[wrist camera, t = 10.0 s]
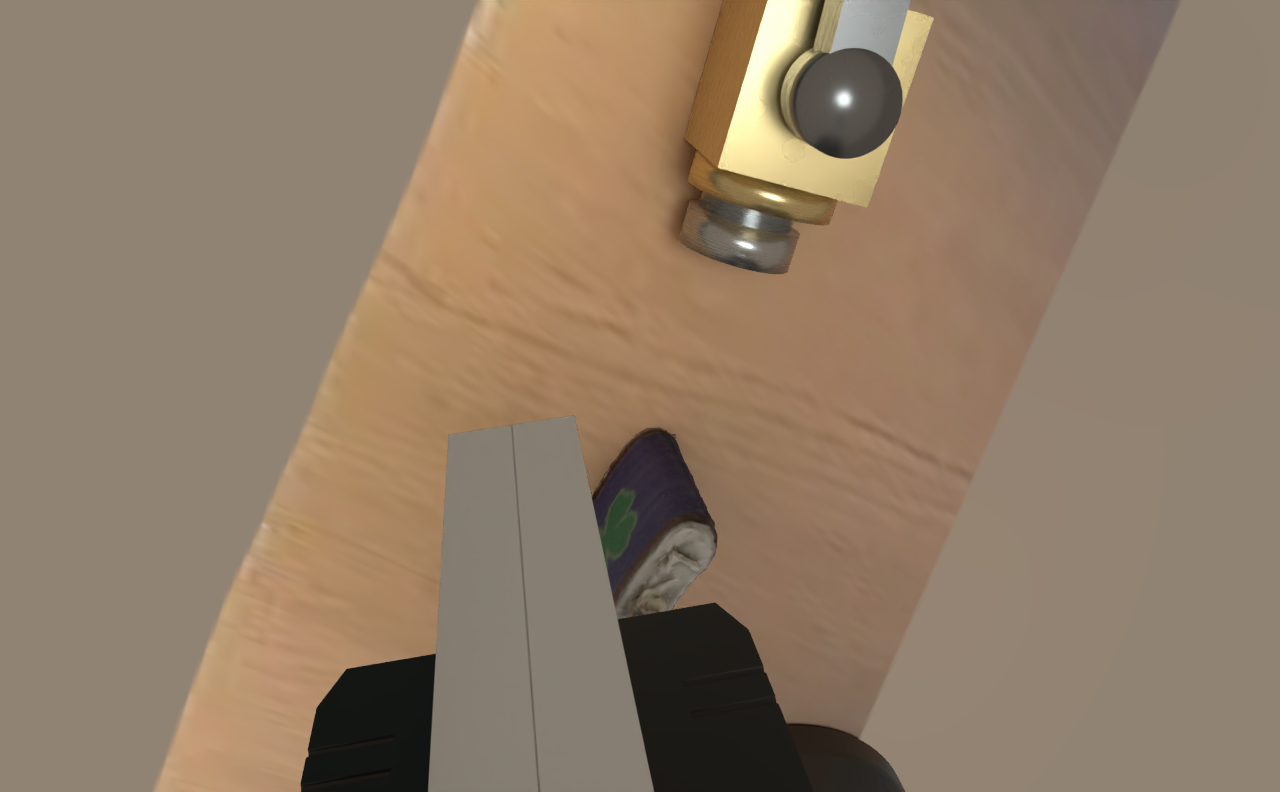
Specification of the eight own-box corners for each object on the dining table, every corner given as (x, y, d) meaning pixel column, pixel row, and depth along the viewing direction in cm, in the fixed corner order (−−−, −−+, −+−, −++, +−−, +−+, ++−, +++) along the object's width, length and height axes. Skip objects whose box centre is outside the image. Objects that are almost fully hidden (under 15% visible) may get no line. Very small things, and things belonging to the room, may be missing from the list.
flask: (603, 595, 54) (631, 736, 44) (549, 575, 53) (566, 715, 43) (690, 438, 52) (740, 551, 42) (635, 414, 51) (673, 524, 41)
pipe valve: (784, 256, 49) (836, 307, 42) (657, 224, 48) (689, 272, 41) (898, -91, 44) (979, -99, 37) (760, -137, 43) (817, -155, 36)
